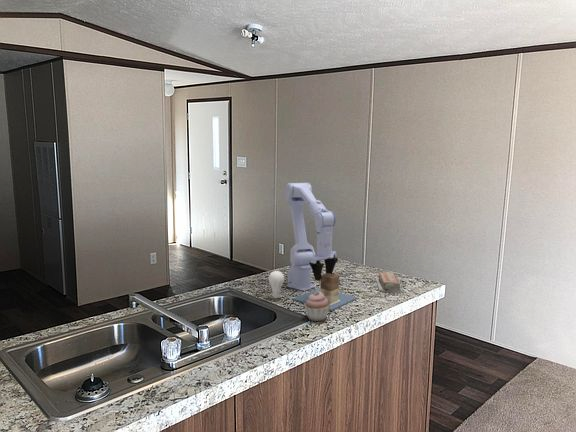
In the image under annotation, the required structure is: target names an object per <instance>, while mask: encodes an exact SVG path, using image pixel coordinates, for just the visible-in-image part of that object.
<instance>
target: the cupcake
mask: <svg viewBox="0 0 576 432" xmlns="http://www.w3.org/2000/svg"><path fill="white" fill-rule="evenodd" d="M303 305H304V309H305V310H306V315H307V318H308V319H309V321H315V322H322V321H325V320H326V318H327V315H328V314H329V308H330V307H331V306H330V304H329V303H328V299H327V298H326V297H325V296H324V294H323V293H321V292H319V291H316V292H315V293H314V294H311V295H310V296H309V297H308V299H307V301H306V303H303Z"/></svg>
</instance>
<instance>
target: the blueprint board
mask: <svg viewBox="0 0 576 432" xmlns="http://www.w3.org/2000/svg"><path fill="white" fill-rule="evenodd" d="M316 291H319V292H320V287H319V288H316V289H314V290H311V291H308V292H306V293H304V294H300V295H299V296H295V297H293V300H292V301H295V302H299V303H301V304H302V303H303V304H305V303H306V301H307V299H308V297H309V296H310V295H311V294H314V293H315V292H316ZM356 300H358V297H357V296H353V295H350V294H345V293H341V292H339V295H338V301H337V302H334V303H332V304H330V306H331V307H330V308H329V310H328V312H332V311H335V310H337V309H340V308H341V307H344V306H345V305H348V304H349V303H352V302H354V301H356Z"/></svg>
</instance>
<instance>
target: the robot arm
mask: <svg viewBox="0 0 576 432" xmlns="http://www.w3.org/2000/svg"><path fill="white" fill-rule="evenodd" d="M284 189H285V190H284V192H285V199H286V204H287V205H289V207H290V215H291V221H292V229H293V236H294V243H295V244H294V245H293V246H292V247H291V248H290V250H289V253H290V255H289V261H290V264H291V265H290V266H289V269H288V271H287V272H288V274H287V281H288V282H287V285H286V287H288V288H291V289H295V290H299V291H301V292H302V291H303V292H305V291H308V290H311V289H313V288H315V287H316V285H314V284H312V273H313V278H314V281H318V282H321V275H322V272H323V271H322V270H323V268H324V266H325V274H327V273H331V274H333V273H334V269H335V266H336V265H337V262H338V261H339V258H338V257H337V256H338V255H337V254H338V253H337V251H335V250H333V227H335V226H336V222H337V217H336V214H335V212H334V211H332V210H331V211H330V210H328V209H327V208H326V206H325V205H324V203H323V202H322V201H321V200H320V199H319V200H318V199H316V197H315V195H314V193H313V188H312V185H311V184H310V182H307V181H306V182H288V183H287V184H286V186H285V188H284ZM304 204H307V205H308V211H309V212H310V214H311V215H312V217H313V218H314V225H315V231H316V251H315V248H314V246H313V245H312V244H310V243H308V238H307V231H306V230H307V229H306V225H305V219H304V211H303V205H304ZM322 261H324V263H322Z"/></svg>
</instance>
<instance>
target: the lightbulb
mask: <svg viewBox="0 0 576 432" xmlns="http://www.w3.org/2000/svg"><path fill="white" fill-rule="evenodd" d="M268 282H269V284H270V287H271V290H272V291H271V292H272V298H274V299H275V300H276V299H278V298H280V293H281V288H282V286H283V284H284V282H285V275H284V274H283V273H282V271H279V270H274V271H272V272H270V274H269V275H268Z"/></svg>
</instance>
